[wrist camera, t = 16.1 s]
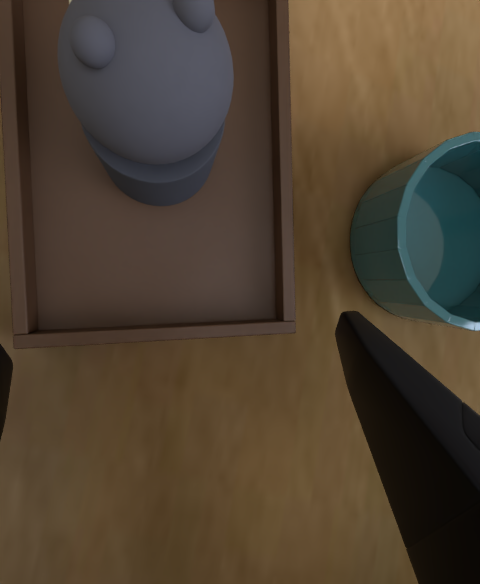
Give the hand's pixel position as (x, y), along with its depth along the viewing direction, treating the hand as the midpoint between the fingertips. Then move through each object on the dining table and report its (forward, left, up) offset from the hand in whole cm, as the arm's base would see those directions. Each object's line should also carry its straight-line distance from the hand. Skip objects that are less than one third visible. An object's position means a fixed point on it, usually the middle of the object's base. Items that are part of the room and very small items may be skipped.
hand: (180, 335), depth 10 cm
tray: (-3, +8, -12) cm, 14 cm away
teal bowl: (+14, +8, -12) cm, 20 cm away
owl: (-3, +8, -11) cm, 14 cm away
